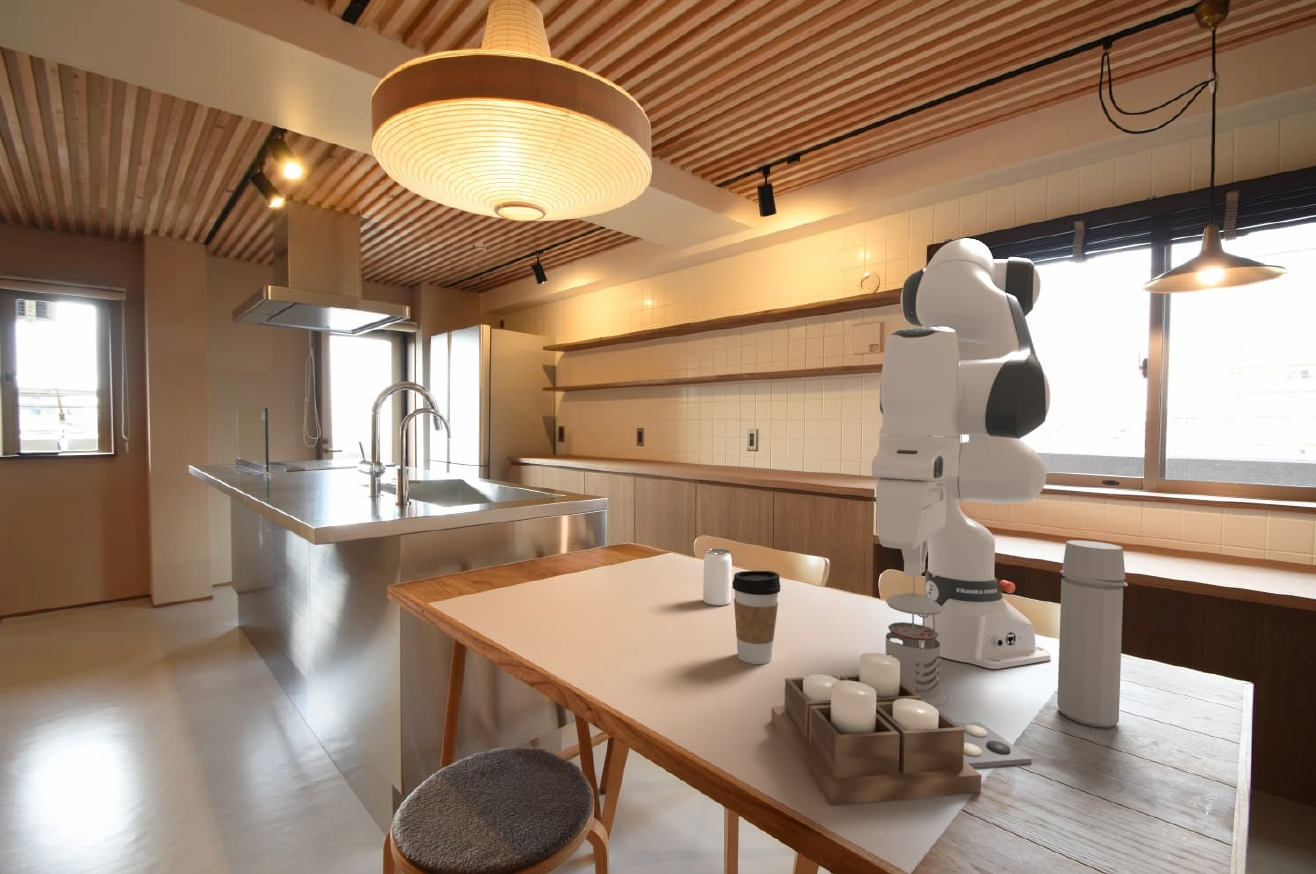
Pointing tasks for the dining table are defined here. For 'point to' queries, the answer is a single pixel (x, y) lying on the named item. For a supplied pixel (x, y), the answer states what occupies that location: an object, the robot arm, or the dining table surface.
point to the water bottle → (1091, 632)
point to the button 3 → (880, 674)
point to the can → (717, 577)
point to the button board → (874, 751)
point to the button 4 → (915, 714)
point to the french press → (916, 646)
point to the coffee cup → (755, 614)
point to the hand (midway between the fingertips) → (914, 574)
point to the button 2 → (853, 707)
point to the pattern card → (989, 747)
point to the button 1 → (818, 687)
